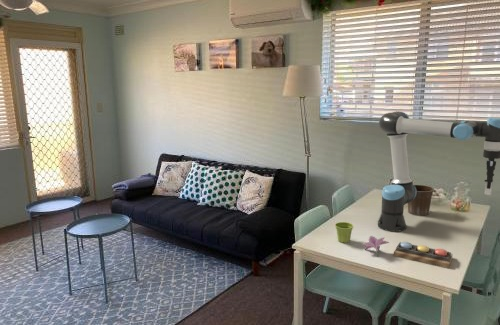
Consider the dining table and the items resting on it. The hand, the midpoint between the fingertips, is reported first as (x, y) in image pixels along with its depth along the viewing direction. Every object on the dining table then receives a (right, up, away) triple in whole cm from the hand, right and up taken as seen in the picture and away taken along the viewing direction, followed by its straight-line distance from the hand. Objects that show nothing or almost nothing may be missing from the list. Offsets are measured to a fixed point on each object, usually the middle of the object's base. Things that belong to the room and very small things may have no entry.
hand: (487, 191), depth 188 cm
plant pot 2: (-14, -17, +47) cm, 52 cm away
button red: (-33, -27, -18) cm, 46 cm away
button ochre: (-39, -27, -14) cm, 49 cm away
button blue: (-45, -26, -10) cm, 53 cm away
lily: (-59, -29, -7) cm, 67 cm away
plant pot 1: (-71, -27, +7) cm, 76 cm away
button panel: (-39, -30, -13) cm, 51 cm away
